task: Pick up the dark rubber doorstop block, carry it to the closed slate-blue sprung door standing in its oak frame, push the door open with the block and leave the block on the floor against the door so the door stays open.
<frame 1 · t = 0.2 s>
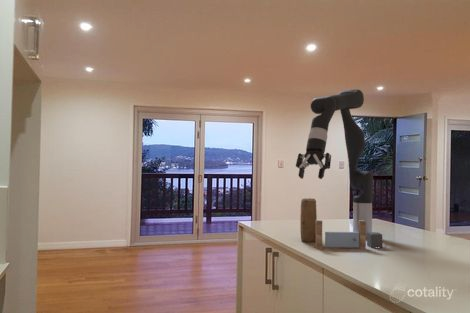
hand: (310, 178, 154), 31 cm above the counter, tool tilted 20°, fingers open, 8 cm apart
door: (342, 239, 168), point 4 cm above the counter, hinge at 0.0°
frame: (341, 248, 169), on the counter
block: (308, 240, 186), on the counter
doorstop: (374, 246, 173), on the counter
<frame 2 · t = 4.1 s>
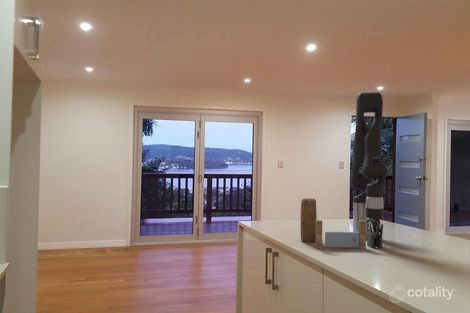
hand: (374, 244, 173), 1 cm above the counter, tool pointing down, fingers closed on doorstop, 5 cm apart
doorstop: (374, 246, 173), on the counter, touching gripper
everything else where it was.
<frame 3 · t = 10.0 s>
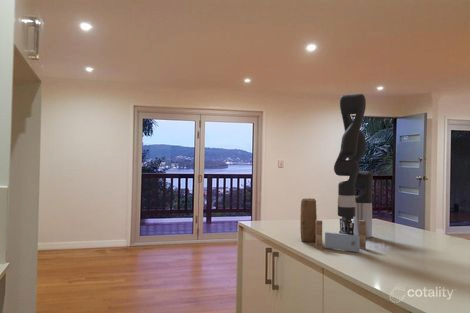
hand: (346, 243, 170), 2 cm above the counter, tool pointing down, fingers closed on doorstop, 5 cm apart
door: (341, 242, 164), point 4 cm above the counter, hinge at 34.4°, touching hand
doorstop: (346, 245, 170), point 1 cm above the counter, touching gripper
everything else where it was.
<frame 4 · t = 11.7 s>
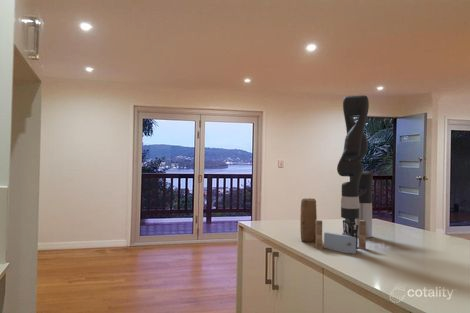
hand: (350, 246, 165), 2 cm above the counter, tool pointing down, fingers closed on doorstop, 5 cm apart
door: (338, 242, 162), point 4 cm above the counter, hinge at 49.0°, touching hand
doorstop: (349, 248, 165), point 1 cm above the counter, touching gripper
everything else where it was.
when the fingers open (2 cm above the counter, at t = 12.6 s): doorstop stays where it is, on the counter.
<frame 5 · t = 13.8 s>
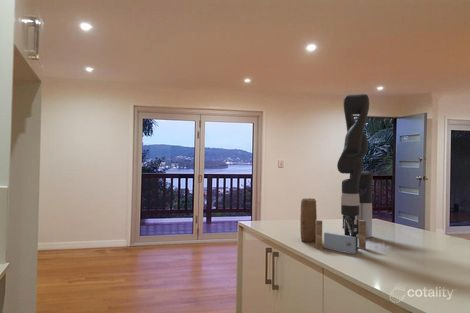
hand: (350, 241, 165), 4 cm above the counter, tool pointing down, fingers open, 8 cm apart
door: (338, 242, 162), point 4 cm above the counter, hinge at 49.9°, touching gripper
doorstop: (350, 250, 165), on the counter
everything else where it was.
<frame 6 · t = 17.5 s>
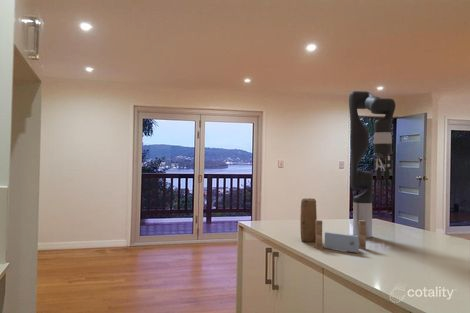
hand: (382, 179, 172), 30 cm above the counter, tool pointing down, fingers open, 8 cm apart
door: (340, 242, 163), point 4 cm above the counter, hinge at 39.1°, touching doorstop
doorstop: (350, 250, 166), on the counter, touching door, frame
everything else where it was.
at the end: door at +39° (first picture: +0°); doorstop inside the target area (1.2 cm from its centre), on the counter; doorstop touching door, counter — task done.
